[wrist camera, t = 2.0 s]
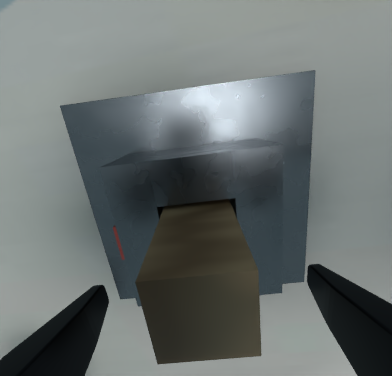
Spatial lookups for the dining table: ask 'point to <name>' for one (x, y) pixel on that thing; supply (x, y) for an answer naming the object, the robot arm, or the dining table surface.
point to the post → (200, 286)
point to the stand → (201, 167)
